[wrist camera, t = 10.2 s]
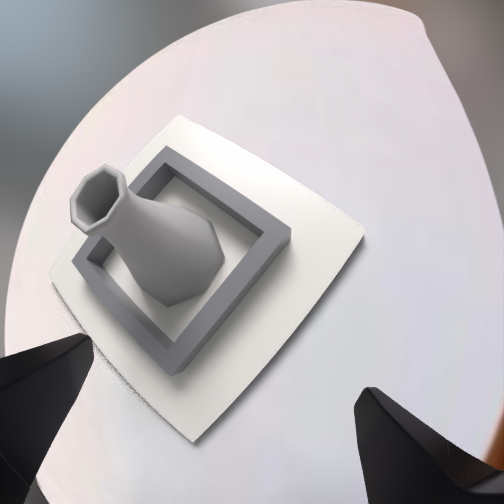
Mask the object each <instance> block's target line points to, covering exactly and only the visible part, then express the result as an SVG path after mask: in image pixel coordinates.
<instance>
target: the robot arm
mask: <svg viewBox="0 0 504 504" xmlns="http://www.w3.org/2000/svg"><path fill="white" fill-rule="evenodd" d="M93 360H94V353H93V345H92V339H91V337H90V336H88V335H85V334H83V333H78V334H75V335H72V336H69V337H66V338H63V339H60V340H56V341H53V342H50V343H47V344H44V345H41V346H38V347H35V348H32V349H29V350H25V351H22V352H19V353H16V354H13V355H9V356H6V357H3V358H0V504H24V502H25V499H26V497H27V495H28V492H29V490H30V486H31V485H32V483H33V481H34V478H35V476H36V474H37V472H38V470H39V468H40V466H41V464H42V462H43V460H44V458H45V456H46V454H47V452H48V450H49V448H50V446H51V444H52V442H53V440H54V438H55V436H56V435H57V433H58V431H59V429H60V427H61V425H62V423H63V422H64V420H65V418H66V416H67V414H68V413H69V411H70V409H71V407H72V406H73V404H74V402H75V400H76V399H77V397H78V395H79V392H80V390H81V388H82V386H83V383H84V381H85V379H86V377H87V374H88V372H89V370H90V368H91V366H92V363H93ZM354 416H355V425H356V435H357V444H358V450H359V455H360V460H361V465H362V470H363V475H364V481H365V486H366V492H367V497H368V503H369V504H504V471H503V470H498V469H496V468H494V467H492V466H490V465H488V464H486V463H484V462H483V461H481V460H479V459H477V458H475V457H474V456H472V455H470V454H468V453H467V452H465V451H463V450H462V449H460V448H459V447H457V446H456V445H454V444H453V443H451V442H450V441H449V440H446V438H444V437H443V436H442V435H440V434H439V433H437V432H436V431H435V430H433V429H432V428H430V427H429V426H428V425H426V424H425V423H424V422H422V421H421V420H419V419H418V418H417V417H415V416H414V415H413V414H411V413H410V412H409V411H407V410H406V409H404V408H403V407H402V406H400V405H399V404H398V403H396V402H395V401H394V400H392V399H391V398H390V397H388V396H387V395H386V394H385V393H383V392H382V391H381V390H379V389H378V388H376V387H366V388H364V389H363V391H362V393H361V394H360V396H359V398H358V400H357V401H356V403H355V406H354Z"/></svg>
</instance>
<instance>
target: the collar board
mask: <svg viewBox="0 0 504 504" xmlns="http://www.w3.org/2000/svg"><path fill="white" fill-rule="evenodd" d="M122 173H123V174H124V176H125V178H126V183H127V187H128V188H129V189H130V190H131V191H132V192H133V193H134V194H135V195H137V196H139V197H140V198H144V199H148V200H152V201H157V202H161V203H168V204H174V205H180V206H183V207H185V208H186V209H188V210H190V211H192V212H194V213H196V214H198V215H199V216H201V217H203V218H205V219H207V220H209V221H211V222H212V225H213V227H214V230H215V232H216V235H217V238H218V240H219V243H220V245H221V248H222V251H223V253H224V256H225V258H224V260H223V261H222V263H221V265H220V266H219V268H218V269H217V271H216V273H215V274H214V276H213V278H212V279H211V281H210V282H209V284H208V286H207V287H206V289H205V291H204V292H203V293H201V294H199V295H196V296H194V297H192V298H189V299H187V300H184V301H182V302H179V303H177V304H174V305H172V306H169V307H166V306H165V305H163V304H162V303H161V302H159V301H158V300H157V299H155V298H154V297H152V296H151V295H150V294H148V293H147V292H146V291H144V290H143V289H142V288H141V287H139V286H138V284H137V283H136V281H135V280H134V278H133V276H132V274H131V273H130V271H129V269H128V267H127V266H126V264H125V263H124V261H123V260H122V258H121V257H120V255H119V254H118V252H117V250H116V249H115V247H114V246H113V245H112V244H111V243H110V242H109V241H108V240H107V239H106V238H104V237H103V236H101V235H99V234H96V235H94V236H92V237H90V236H87V235H86V234H84V233H83V232H82V231H81V230H80V229H79V228H77V229H76V230H75V232H74V233H73V235H72V236H71V237H70V239H69V240H68V242H67V243H66V245H65V246H64V248H63V249H62V251H61V252H60V254H59V255H58V257H57V259H56V260H55V262H54V263H53V265H52V267H51V268H50V270H49V271H48V275H49V277H50V278H51V280H52V282H53V283H54V285H55V287H56V288H57V290H58V291H59V293H60V295H61V296H62V298H63V299H64V301H65V302H66V304H67V305H68V307H69V308H70V310H71V311H72V313H73V314H74V316H75V317H76V318H77V320H78V321H79V323H80V324H81V325H82V327H83V328H84V330H85V331H86V332H87V334H88V335H89V336H90V337H91V339H92V340H93V341H94V343H95V344H96V345H97V347H98V348H99V349H100V350H101V352H102V353H103V354H104V355H105V356H106V358H107V359H108V360H109V361H110V362H111V364H112V365H113V366H114V367H115V368H116V369H117V370H118V372H119V373H120V374H121V375H122V376H123V377H124V378H125V379H126V381H127V382H128V383H129V384H130V385H131V386H132V387H133V388H134V389H135V390H136V391H137V392H138V393H139V394H140V395H141V396H142V397H143V398H144V399H145V400H146V401H147V402H148V403H149V404H150V405H151V406H152V407H153V408H154V409H155V410H156V411H157V412H158V413H159V414H160V415H161V416H162V417H163V418H164V419H166V420H167V421H168V422H169V423H170V424H171V425H172V426H173V427H175V428H176V429H177V430H178V431H179V432H180V433H181V434H183V435H184V436H185V437H186V438H187V439H189V440H190V441H191V442H192V443H193V442H194V441H195V440H196V439H197V438H198V437H199V436H200V435H201V434H202V433H203V432H204V431H205V430H206V429H207V428H208V427H209V426H210V425H211V424H212V423H213V422H214V421H215V420H216V419H217V418H218V417H219V416H220V415H221V414H222V413H223V412H224V411H225V410H226V409H227V408H228V407H229V406H230V405H231V404H232V402H233V401H234V400H235V399H236V398H237V397H238V396H239V395H240V394H241V393H242V392H243V390H244V389H245V388H246V387H247V386H248V385H249V384H250V383H251V382H252V380H253V379H254V378H255V377H256V376H257V375H258V374H259V372H260V371H261V370H262V369H263V368H264V367H265V366H266V364H267V363H268V362H269V361H270V360H271V358H272V357H273V356H274V355H275V354H276V353H277V351H278V350H279V349H280V348H281V346H282V345H283V344H284V343H285V342H286V340H287V339H288V338H289V337H290V335H291V334H292V333H293V332H294V330H295V329H296V328H297V327H298V325H299V324H300V323H301V322H302V320H303V319H304V318H305V316H306V315H307V314H308V313H309V311H310V310H311V309H312V307H313V306H314V305H315V303H316V302H317V301H318V299H319V298H320V297H321V295H322V294H323V293H324V291H325V290H326V289H327V287H328V286H329V284H330V283H331V282H332V280H333V279H334V277H335V276H336V275H337V273H338V272H339V270H340V269H341V268H342V266H343V265H344V263H345V262H346V260H347V259H348V258H349V256H350V255H351V253H352V252H353V250H354V249H355V247H356V246H357V244H358V243H359V241H360V240H361V238H362V237H363V235H364V234H365V232H366V231H367V229H366V228H364V227H363V226H362V225H360V224H359V223H358V222H356V221H355V220H353V219H352V218H351V217H349V216H348V215H346V214H345V213H343V212H342V211H341V210H339V209H338V208H336V207H335V206H333V205H332V204H331V203H329V202H328V201H326V200H325V199H323V198H322V197H320V196H319V195H317V194H316V193H314V192H313V191H311V190H310V189H308V188H307V187H305V186H303V185H302V184H300V183H299V182H297V181H296V180H294V179H292V178H291V177H289V176H288V175H286V174H285V173H283V172H281V171H280V170H278V169H276V168H275V167H273V166H271V165H270V164H268V163H266V162H265V161H263V160H261V159H260V158H258V157H256V156H255V155H253V154H251V153H249V152H248V151H246V150H244V149H243V148H241V147H239V146H237V145H235V144H234V143H232V142H230V141H228V140H226V139H225V138H223V137H221V136H219V135H217V134H215V133H213V132H212V131H210V130H208V129H206V128H204V127H202V126H200V125H198V124H196V123H194V122H192V121H190V120H188V119H186V118H184V117H182V116H180V115H177V116H176V117H175V118H174V119H173V120H172V121H171V122H170V123H169V124H168V125H167V126H166V127H164V128H163V129H162V130H161V131H160V132H159V133H158V134H157V135H156V136H155V137H154V138H153V139H152V140H151V141H150V142H149V143H148V144H147V145H146V146H145V147H144V148H143V149H142V151H141V152H140V153H139V154H138V155H137V156H136V157H135V158H134V159H133V160H132V161H131V162H130V163H129V164H128V166H127V167H126V168H125V169H124V170H123V171H122Z"/></svg>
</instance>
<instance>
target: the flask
mask: <svg viewBox="0 0 504 504" xmlns="http://www.w3.org/2000/svg"><path fill="white" fill-rule="evenodd" d="M70 214H71V222H72V223H73V224H74V225H75V226H76V227H77V228H79V229H80V230H81V231H82V232H83V233H84V234H86V235H87V236H90V237H92V236H94V235H96V234H99V235H101V236H103V237H104V238H106V239H107V240H108V241H109V242H110V243H111V244H112V245H113V246H114V247H115V249H116V250H117V252H118V254H119V255H120V257H121V258H122V260H123V261H124V263H125V264H126V266H127V267H128V269H129V271H130V273H131V274H132V276H133V278H134V280H135V281H136V283H137V284H138V286H139V287H141V288H142V289H143V290H144V291H146V292H147V293H148V294H150V295H151V296H152V297H154V298H155V299H157V300H158V301H159V302H161V303H162V304H163V305H165V306H166V307H169V306H172V305H174V304H177V303H179V302H182V301H184V300H187V299H189V298H192V297H194V296H196V295H199V294H201V293H203V292H204V291H205V289H206V287H207V286H208V284H209V282H210V281H211V279H212V278H213V276H214V274H215V273H216V271H217V269H218V268H219V266H220V265H221V263H222V261H223V260H224V258H225V256H224V253H223V251H222V248H221V245H220V243H219V240H218V238H217V235H216V232H215V230H214V227H213V225H212V222H211V221H209V220H207V219H205V218H203V217H201V216H199V215H198V214H196V213H194V212H192V211H190V210H188V209H186V208H185V207H183V206H180V205H174V204H168V203H161V202H157V201H152V200H148V199H144V198H140V197H139V196H137V195H135V194H134V193H133V192H132V191H131V190H130V189H129V188H128V187H127V183H126V178H125V176H124V174H123V173H122V172H120V171H118V170H116V169H114V168H112V167H111V166H109V165H107V164H104V165H103V166H101V167H99V168H98V169H96V170H95V171H93V172H91V173H90V174H88V175H87V176H85V177H84V178H83V180H82V181H81V183H80V184H79V186H78V187H77V189H76V190H75V192H74V193H73V195H72V197H71V198H70Z"/></svg>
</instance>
